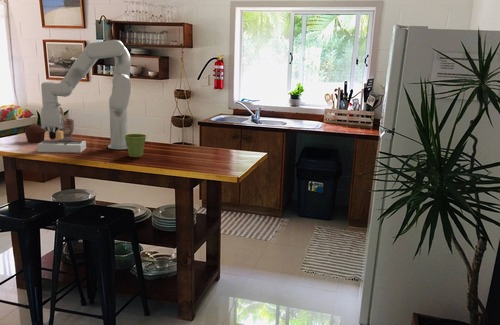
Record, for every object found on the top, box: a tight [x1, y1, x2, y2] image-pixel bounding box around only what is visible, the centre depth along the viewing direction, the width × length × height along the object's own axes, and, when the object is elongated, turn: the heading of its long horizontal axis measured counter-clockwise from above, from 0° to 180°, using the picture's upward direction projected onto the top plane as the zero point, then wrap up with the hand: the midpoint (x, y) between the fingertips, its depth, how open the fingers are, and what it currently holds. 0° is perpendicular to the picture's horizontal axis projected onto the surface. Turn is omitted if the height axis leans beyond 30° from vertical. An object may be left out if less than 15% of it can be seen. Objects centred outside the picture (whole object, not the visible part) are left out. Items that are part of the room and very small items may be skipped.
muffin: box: [23, 124, 47, 144], centre depth 249 cm, size 12×11×10 cm
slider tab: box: [56, 130, 64, 142], centre depth 232 cm, size 2×4×6 cm, turn 7°
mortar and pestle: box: [58, 106, 75, 141], centre depth 255 cm, size 12×9×20 cm
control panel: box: [36, 139, 87, 154], centre depth 233 cm, size 22×12×5 cm, turn 97°
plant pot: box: [124, 133, 148, 158], centre depth 226 cm, size 12×12×11 cm
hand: (52, 139), depth 231 cm, fingers closed
